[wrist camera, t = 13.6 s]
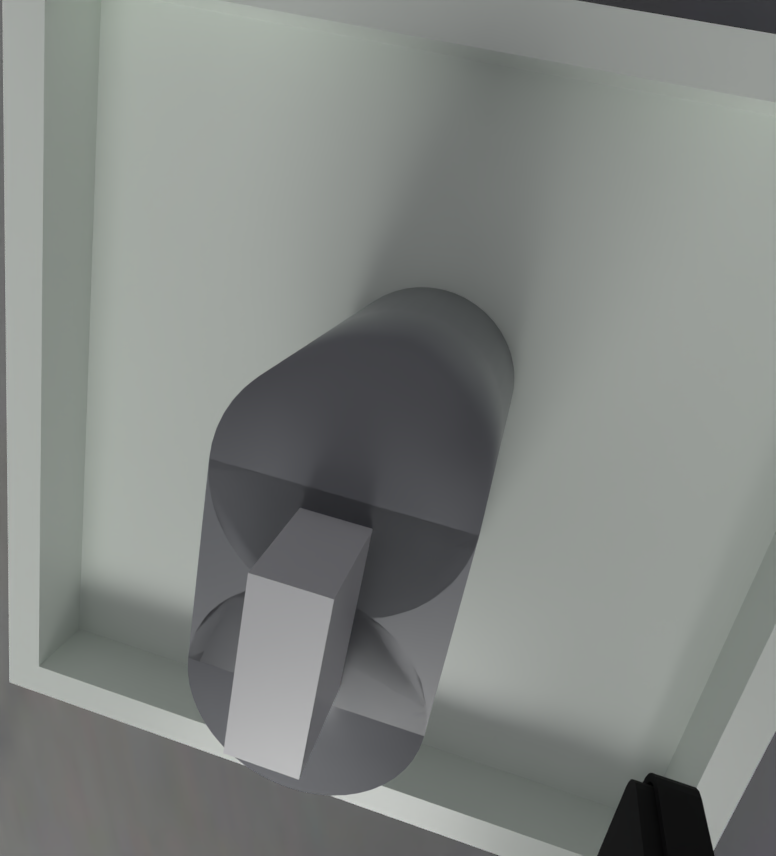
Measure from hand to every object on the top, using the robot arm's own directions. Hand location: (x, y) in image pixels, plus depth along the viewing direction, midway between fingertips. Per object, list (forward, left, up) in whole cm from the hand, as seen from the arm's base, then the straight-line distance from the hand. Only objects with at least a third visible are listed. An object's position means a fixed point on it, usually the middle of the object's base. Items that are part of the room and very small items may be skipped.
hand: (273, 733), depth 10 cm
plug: (0, -1, -9) cm, 9 cm away
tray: (0, -1, -10) cm, 10 cm away
